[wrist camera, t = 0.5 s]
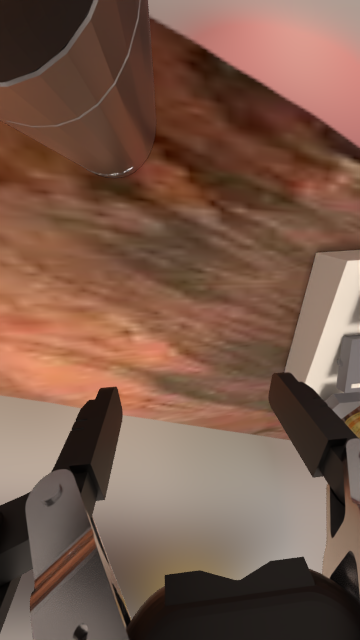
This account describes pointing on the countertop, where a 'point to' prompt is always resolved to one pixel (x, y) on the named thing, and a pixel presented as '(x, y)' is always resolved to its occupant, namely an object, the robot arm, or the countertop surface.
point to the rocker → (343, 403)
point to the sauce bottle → (353, 421)
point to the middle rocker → (349, 365)
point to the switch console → (326, 320)
